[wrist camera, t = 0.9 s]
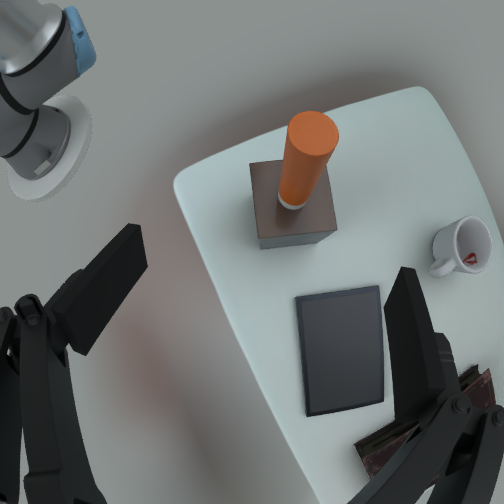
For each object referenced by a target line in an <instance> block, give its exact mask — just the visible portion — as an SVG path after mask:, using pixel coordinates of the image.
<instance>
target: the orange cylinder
mask: <svg viewBox="0 0 504 504" xmlns="http://www.w3.org/2000/svg"><path fill="white" fill-rule="evenodd" d="M338 140H339V133H338V129H337V127H336V125H335V123H334V122H333V121H332V120H331V119H330V118H329V117H328V116H326V115H324V114H322V113H320V112H316V111H305V112H301V113H299V114H297V115H296V116H294V117H293V118H292V119H291V121H290V123H289V125H288V129H287V136H286V143H285V150H284V158H283V165H282V172H281V179H280V186H279V192H278V197H279V200H280V202H281V204H282V205H283V206H284V207H286V208H288V209H292V210H296V209H299V208H301V207H303V206H304V205H305V204H306V202H307V200H308V198H309V196H310V195H311V193H312V191H313V189H314V187H315V185H316V183H317V181H318V180H319V178H320V176H321V174H322V172H323V170H324V168H325V166H326V164H327V163H328V161H329V159H330V157H331V155H332V153H333V151H334V149H335V147H336V145H337V143H338Z"/></svg>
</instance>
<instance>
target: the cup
mask: <svg viewBox="0 0 504 504" xmlns="http://www.w3.org/2000/svg"><path fill="white" fill-rule="evenodd" d="M433 255H434V258H435V260H436V261H435V262H434V263H433V264H432V265H431V266H430V268H429V272H430V274H431V276H432V277H434V278H440V277H443V276H445V275H447V274H448V273H450V272H451V271H457V272H464V273H471V274H476V273H479V272H481V271H483V270H484V269H485V268H486V267H487V265H488V264H489V262H490V259H491V256H492V238H491V234H490V232H489V229H488V228H487V226H486V224H485V223H484V222H483V221H482V220H481V219H479V218H478V217H475V216H466V217H463V218H461V219H459V220H458V221H456V222H454V223H452V224H450V225H448V226H446V227H444V228H443V229H441V230H440V231H439V232H438V233H437V234H436V236H435V238H434V241H433Z"/></svg>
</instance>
